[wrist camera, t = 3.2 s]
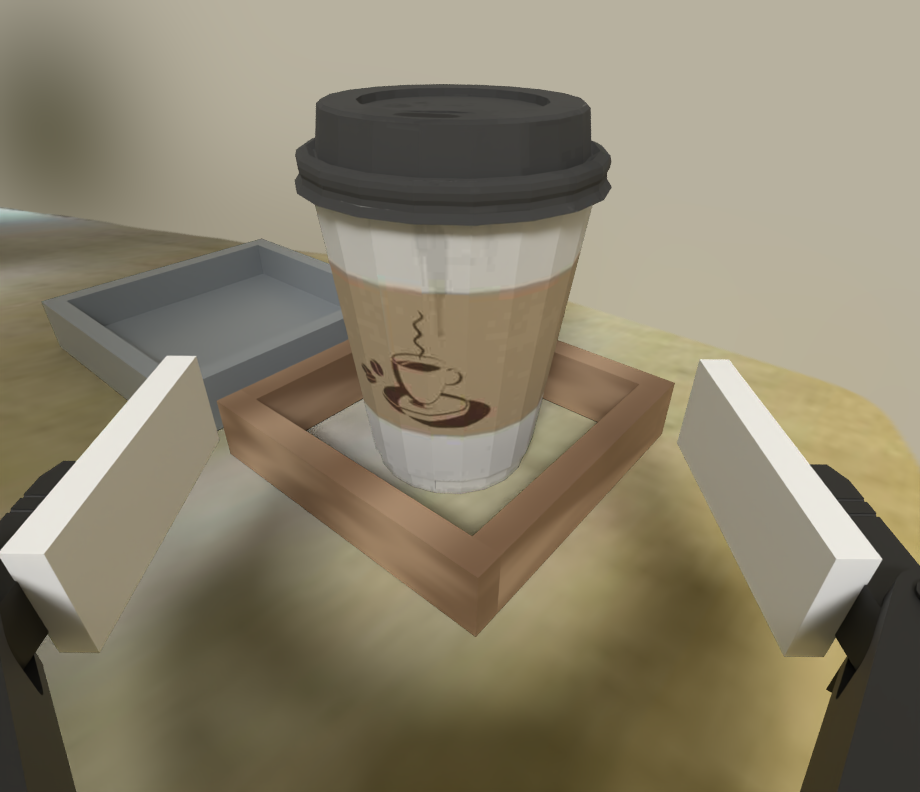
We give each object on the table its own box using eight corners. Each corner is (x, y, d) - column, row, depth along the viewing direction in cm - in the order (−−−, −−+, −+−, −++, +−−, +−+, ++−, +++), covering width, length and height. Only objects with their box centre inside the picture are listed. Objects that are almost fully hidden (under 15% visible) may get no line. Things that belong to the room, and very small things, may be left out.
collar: (230, 453, 27) (216, 400, 26) (439, 340, 37) (439, 296, 35) (475, 637, 20) (478, 577, 18) (661, 433, 29) (674, 383, 27)
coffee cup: (292, 508, 24) (210, 117, 16) (376, 371, 34) (352, 77, 25) (565, 551, 23) (631, 135, 14) (575, 394, 32) (619, 86, 24)
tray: (60, 346, 36) (41, 301, 34) (268, 276, 45) (261, 238, 44) (185, 446, 28) (168, 393, 26) (406, 335, 37) (404, 292, 36)
